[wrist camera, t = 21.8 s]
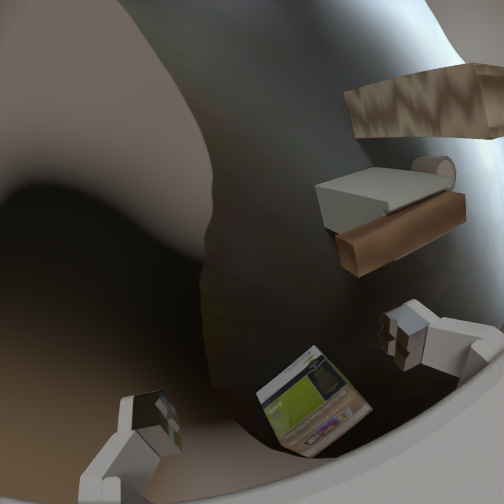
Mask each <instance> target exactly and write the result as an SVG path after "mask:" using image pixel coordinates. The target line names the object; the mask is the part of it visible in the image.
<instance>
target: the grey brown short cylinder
mask: <svg viewBox="0 0 504 504" xmlns="http://www.w3.org/2000/svg"><path fill="white" fill-rule="evenodd" d="M411 171H416V172H423V173H430V174H437V175H444V176H450V177H453V183H454V185H455V181H456V169H455V165H454V163H453V161H452V160H451V159H450V158H449V157H447V156H438V157H418V158H416V159H414V161H413V163H412V165H411ZM454 185H451V186H449V187H448V191H452V189H453V187H454Z"/></svg>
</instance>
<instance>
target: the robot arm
mask: <svg viewBox="0 0 504 504" xmlns="http://www.w3.org/2000/svg"><path fill="white" fill-rule="evenodd" d="M380 324H381V325H382V326H383V327H382V329H381V331H380V342H381V345H382V347H383V349H384V351H385V352H386V353H387V354H389V355H392V356H394V362H395V363H396V364H397V365H398V366H399V367H400V368H401V369H402V370H403V371H406V370H408V369H410V368H412V367H414V366H415V365H417V364H419V363H421V362H422V364H425V365H427V366H430V367H433V368H435V369H438V370H441V371H443V372H446V373H449V374H452V375H454V376H457V377H460V380H459V383H458V386H457V389H456V390H455V391H454V392H452V393H451V394H450V395H448V396H447V397H445V398H444V399H442V400H441V401H440V402H438V403H437V404H435V405H434V406H432V407H431V408H429V409H427V410H426V411H424V412H423V413H421V414H420V415H418V416H416V417H415V418H413V419H411V420H410V421H408V422H406V423H405V424H403V425H401V426H399V427H398V428H396V429H394V430H392V431H391V432H389V433H387V434H385V435H383V436H381V437H379V438H377V439H376V440H374V441H372V442H370V443H368V444H366V445H364V446H361V447H359V448H357V449H355V450H353V451H351V452H349V453H346V454H344V455H342V456H340V457H337V458H335V459H333V460H330V461H328V462H326V463H323V464H321V465H318V466H315V467H313V468H310V469H308V470H305V471H302V472H299V473H296V474H294V475H291V476H288V477H285V478H282V479H278V480H275V481H272V482H269V483H265V484H262V485H258V486H255V487H251V488H247V489H243V490H239V491H235V492H231V493H226V494H222V495H217V496H212V497H206V498H201V499H195V500H188V501H181V502H174V503H165V504H504V334H503V333H502V332H501V331H499V330H498V329H497V328H495V327H494V326H489V325H483V324H478V323H472V322H467V321H461V320H456V319H450V318H445V317H443V318H441V319H440V318H439V317H438V316H437V315H435V314H434V313H433V312H431V311H430V310H429V309H427V308H426V307H425V306H424V305H422V304H421V303H420V302H418V301H417V300H415V299H412V300H410V301H408V302H406V303H404V304H403V305H400V306H398V307H396V308H394V309H392V310H390V311H388V312H386V313H384V314H382V315H381V317H380ZM179 429H180V426H179V420H178V417H177V413H176V412H175V409H174V408H173V406H172V404H169V403H167V397H166V395H165V394H164V392H163V391H161V390H159V391H154V392H150V393H144V394H139V395H135V396H129V397H123V398H122V400H121V402H120V411H119V421H118V431H117V433H114V434H113V435H112V437H111V438H110V439H109V441H108V442H107V443H106V445H105V446H104V447H103V448H102V450H101V451H100V452H99V453H98V455H97V456H96V457H95V459H94V460H93V461H92V463H91V464H90V465H89V466H88V468H87V469H86V471H85V472H84V473H83V474H82V476H81V479H80V487H79V499H78V504H154V503H152V502H151V501H149V500H148V499H146V498H145V497H144V496H143V494H144V491H145V489H146V487H147V485H148V483H149V481H150V479H151V477H152V475H153V473H154V471H155V469H156V467H157V465H158V463H159V461H160V459H161V458H160V457H164V456H169V455H174V454H179V453H182V446H181V438H180V436H179V435H178V434H177V432H178V430H179ZM0 504H51V503H43V502H36V501H29V500H23V499H18V498H13V497H7V496H3V497H0Z"/></svg>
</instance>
